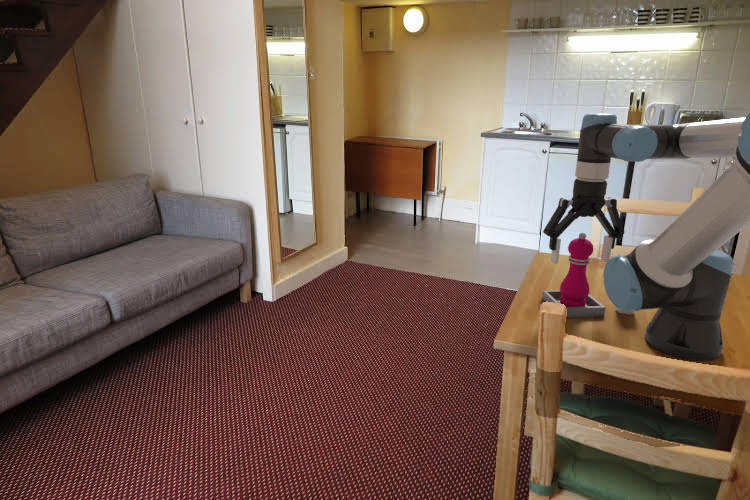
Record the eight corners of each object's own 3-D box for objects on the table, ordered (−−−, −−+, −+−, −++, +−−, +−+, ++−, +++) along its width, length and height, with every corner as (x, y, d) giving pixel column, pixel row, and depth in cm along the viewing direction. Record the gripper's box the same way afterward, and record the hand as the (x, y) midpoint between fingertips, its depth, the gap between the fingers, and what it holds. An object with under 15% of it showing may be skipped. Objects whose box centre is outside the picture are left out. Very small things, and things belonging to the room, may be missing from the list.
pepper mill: (582, 313, 127) (594, 238, 121) (554, 306, 131) (563, 233, 125) (590, 304, 133) (601, 232, 126) (562, 297, 137) (572, 227, 131)
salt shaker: (637, 314, 129) (644, 277, 126) (621, 314, 128) (627, 278, 125) (627, 306, 133) (634, 271, 130) (611, 307, 132) (618, 272, 129)
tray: (604, 316, 127) (605, 307, 126) (560, 317, 126) (561, 308, 125) (582, 297, 138) (583, 289, 137) (541, 299, 137) (542, 290, 136)
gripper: (630, 176, 126) (617, 255, 132) (535, 176, 124) (527, 257, 130) (648, 181, 119) (634, 264, 125) (548, 182, 117) (538, 267, 123)
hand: (579, 261), depth 128 cm, fingers open, 13 cm apart
